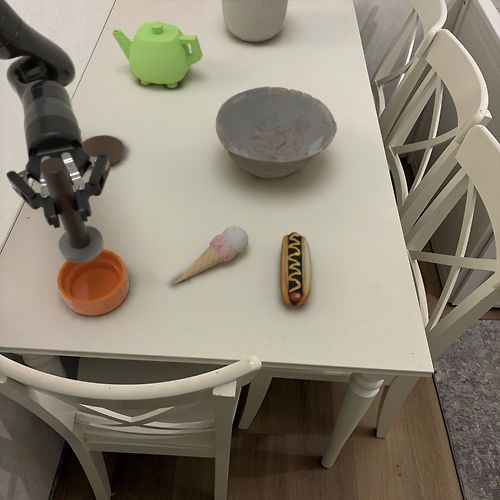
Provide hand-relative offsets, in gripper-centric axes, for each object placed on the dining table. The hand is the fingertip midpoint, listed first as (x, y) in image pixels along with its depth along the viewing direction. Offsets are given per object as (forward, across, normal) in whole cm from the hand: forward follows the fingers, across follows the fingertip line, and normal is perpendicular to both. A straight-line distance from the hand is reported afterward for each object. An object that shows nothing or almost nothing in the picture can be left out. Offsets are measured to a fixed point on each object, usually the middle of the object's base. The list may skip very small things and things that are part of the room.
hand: (69, 219), depth 61 cm
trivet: (-35, +6, +20) cm, 41 cm away
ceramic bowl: (-22, +38, +20) cm, 48 cm away
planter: (-71, +52, +20) cm, 91 cm away
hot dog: (+6, +31, +20) cm, 37 cm away
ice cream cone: (-2, +19, +20) cm, 28 cm away
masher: (-3, 0, +9) cm, 9 cm away
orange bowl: (-3, 0, +20) cm, 20 cm away
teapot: (-58, +24, +20) cm, 66 cm away
